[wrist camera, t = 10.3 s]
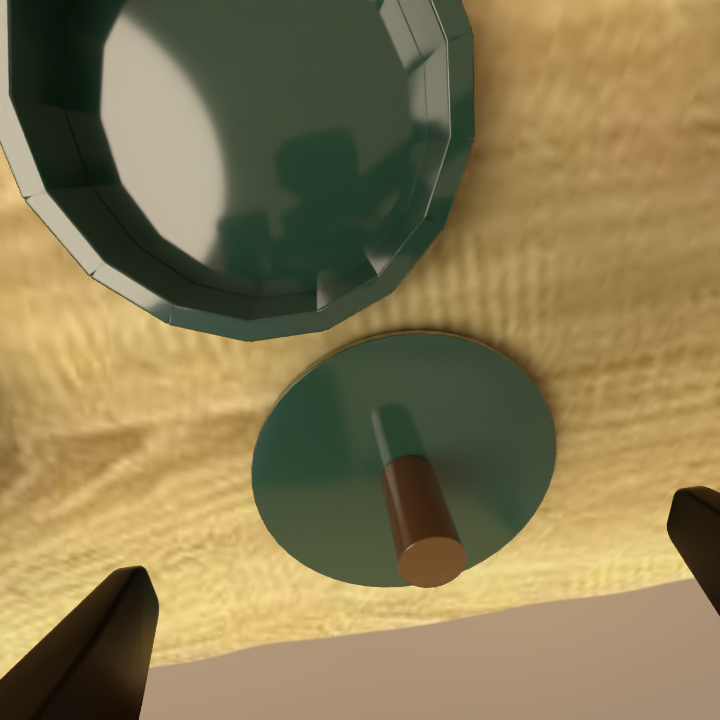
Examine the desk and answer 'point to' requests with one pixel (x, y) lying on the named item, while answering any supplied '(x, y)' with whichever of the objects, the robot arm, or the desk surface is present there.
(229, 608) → the desk surface
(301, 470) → the lid
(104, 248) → the ring
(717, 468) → the desk surface
